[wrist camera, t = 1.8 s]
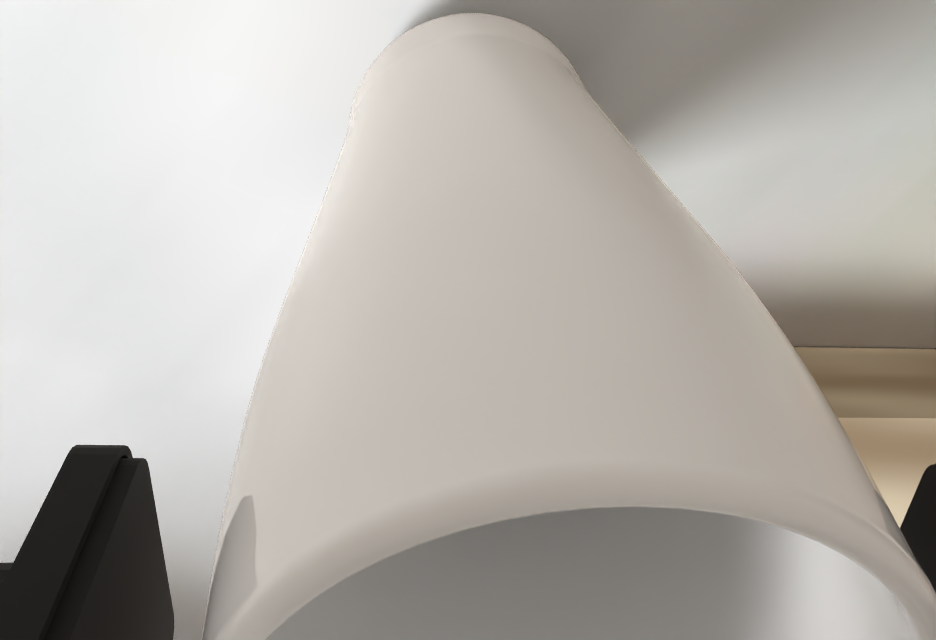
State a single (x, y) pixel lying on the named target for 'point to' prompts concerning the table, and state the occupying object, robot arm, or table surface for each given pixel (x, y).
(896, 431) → the dock
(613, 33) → the table surface
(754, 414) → the white tapered cup
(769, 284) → the table surface
